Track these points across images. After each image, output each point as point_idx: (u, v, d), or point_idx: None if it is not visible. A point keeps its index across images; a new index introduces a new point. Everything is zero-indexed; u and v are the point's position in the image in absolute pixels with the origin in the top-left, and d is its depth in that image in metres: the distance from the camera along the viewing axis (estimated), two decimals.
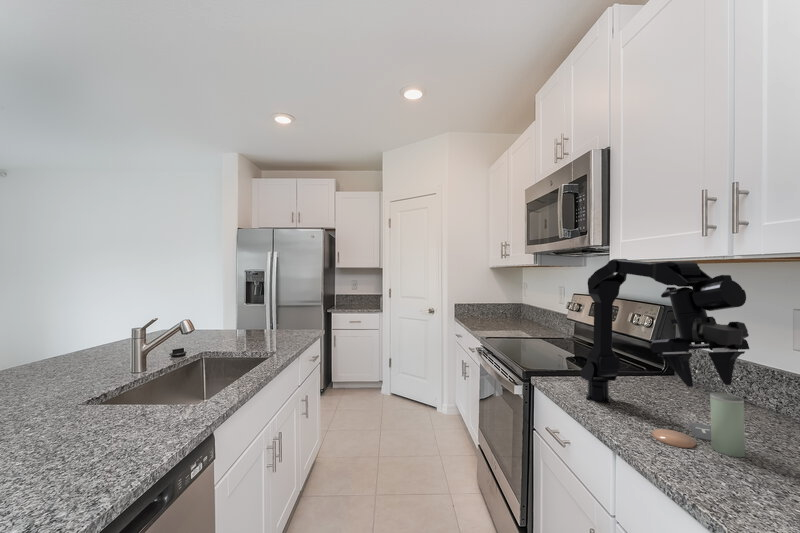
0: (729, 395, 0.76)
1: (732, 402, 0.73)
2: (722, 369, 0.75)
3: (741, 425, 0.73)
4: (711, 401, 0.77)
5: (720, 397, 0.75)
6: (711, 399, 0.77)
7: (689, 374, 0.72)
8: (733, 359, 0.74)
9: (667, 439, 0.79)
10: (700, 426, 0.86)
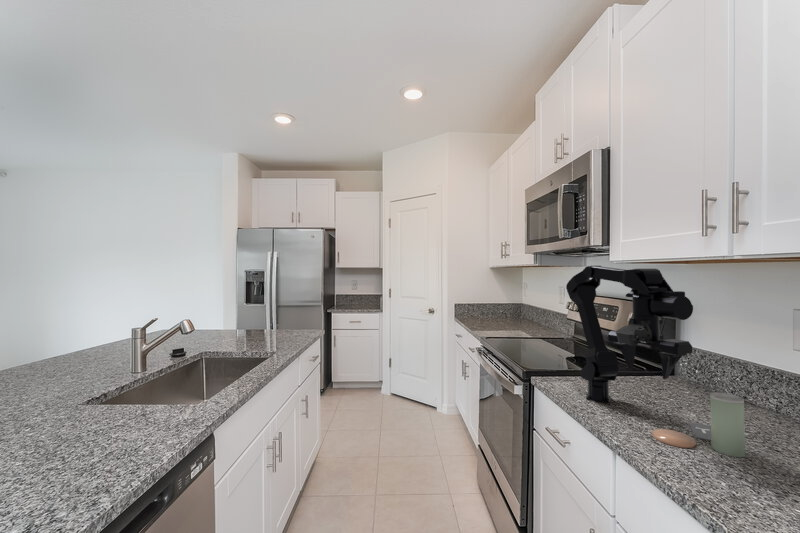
0: (729, 395, 0.76)
1: (732, 402, 0.73)
2: None
3: (741, 425, 0.73)
4: (711, 401, 0.77)
5: (720, 397, 0.75)
6: (711, 399, 0.77)
7: (626, 359, 0.94)
8: (665, 359, 0.84)
9: (667, 439, 0.79)
10: (700, 426, 0.86)
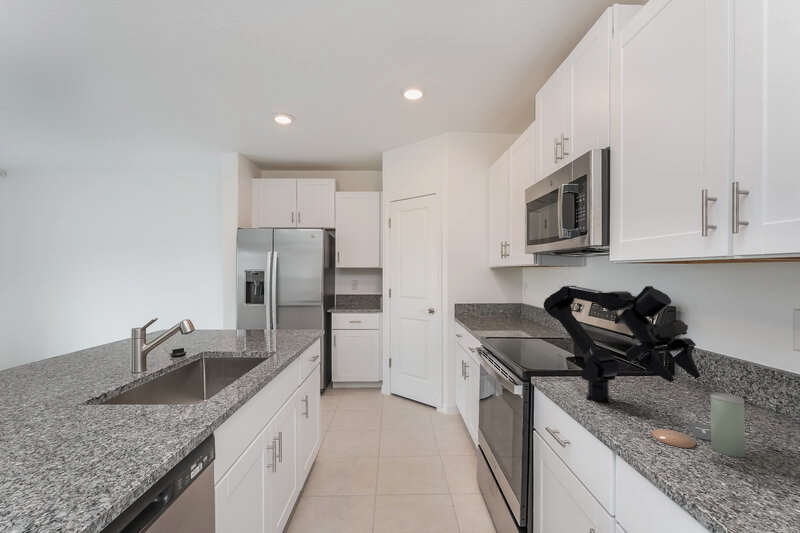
0: (729, 395, 0.76)
1: (732, 402, 0.73)
2: (687, 366, 0.87)
3: (741, 425, 0.73)
4: (711, 401, 0.77)
5: (720, 397, 0.75)
6: (711, 399, 0.77)
7: (666, 369, 0.83)
8: (690, 355, 0.88)
9: (667, 439, 0.79)
10: (700, 426, 0.86)
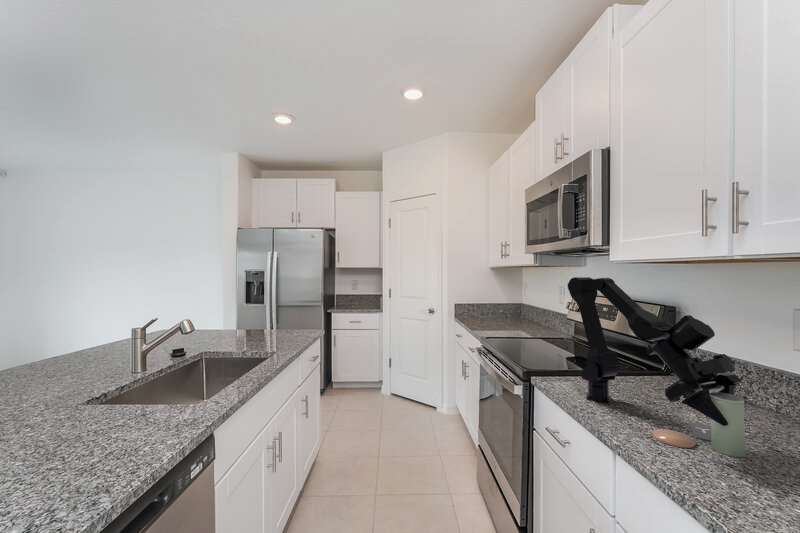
0: (729, 395, 0.76)
1: (732, 402, 0.73)
2: None
3: (741, 425, 0.73)
4: None
5: (720, 397, 0.75)
6: (711, 399, 0.77)
7: (718, 411, 0.74)
8: (732, 394, 0.78)
9: (667, 439, 0.79)
10: (700, 426, 0.86)
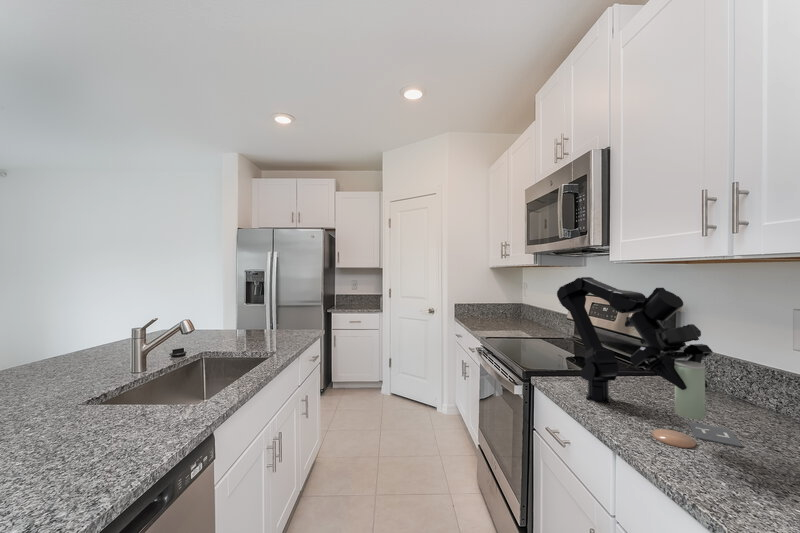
0: (693, 362, 0.79)
1: (691, 367, 0.77)
2: None
3: (700, 390, 0.76)
4: (675, 367, 0.80)
5: (682, 363, 0.79)
6: (675, 365, 0.80)
7: (678, 376, 0.78)
8: None
9: (667, 439, 0.79)
10: (700, 426, 0.86)
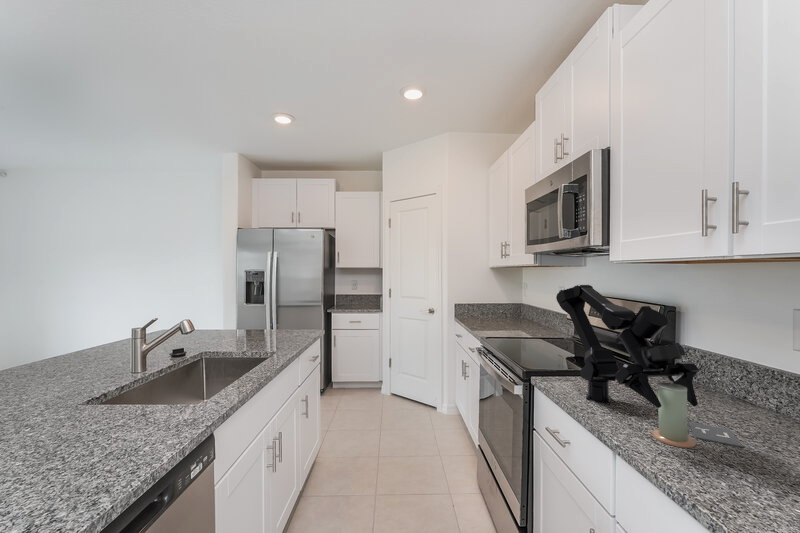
0: (676, 385, 0.81)
1: (672, 390, 0.79)
2: None
3: (681, 413, 0.78)
4: (658, 389, 0.82)
5: (664, 386, 0.81)
6: (658, 388, 0.82)
7: (653, 394, 0.80)
8: (690, 381, 0.82)
9: (667, 439, 0.79)
10: (700, 426, 0.86)
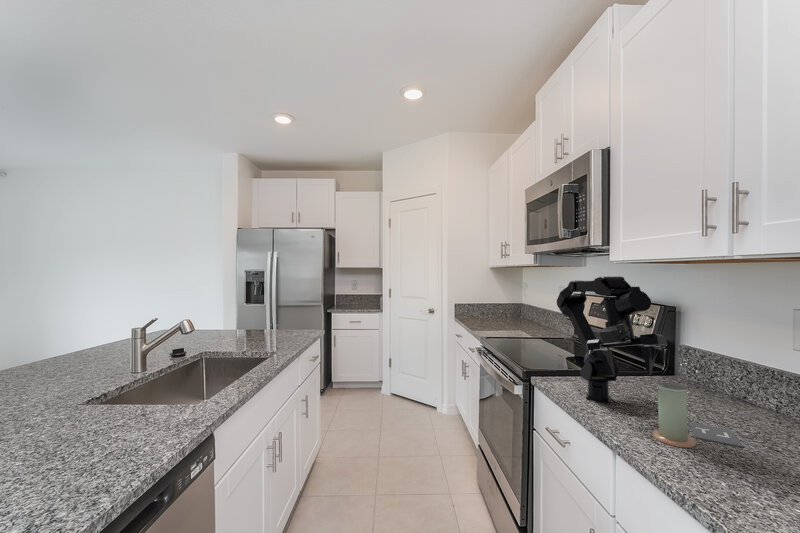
0: (676, 385, 0.81)
1: (672, 390, 0.79)
2: None
3: (681, 413, 0.78)
4: (658, 389, 0.82)
5: (664, 386, 0.81)
6: (658, 388, 0.82)
7: (607, 365, 0.96)
8: (647, 353, 0.88)
9: (667, 439, 0.79)
10: (700, 426, 0.86)
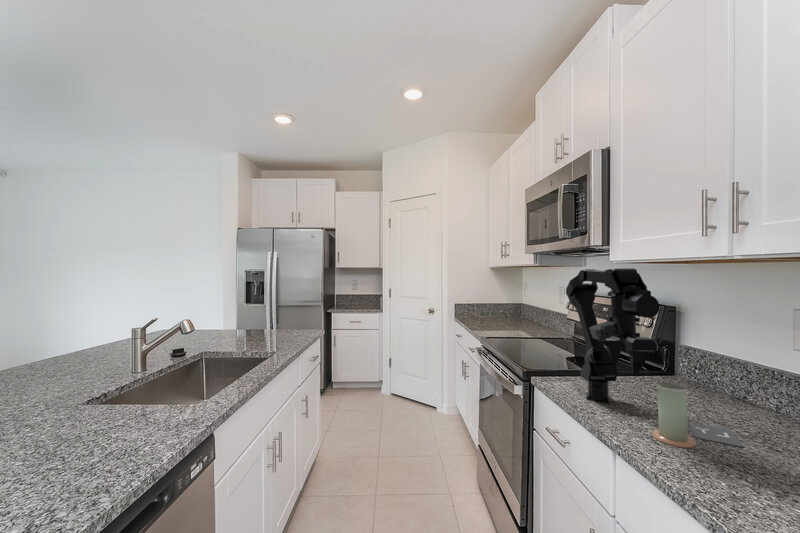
0: (676, 385, 0.81)
1: (671, 390, 0.79)
2: None
3: (681, 413, 0.78)
4: (658, 389, 0.82)
5: (664, 386, 0.81)
6: None
7: (610, 355, 0.99)
8: (631, 355, 0.88)
9: (667, 439, 0.79)
10: (700, 426, 0.86)
